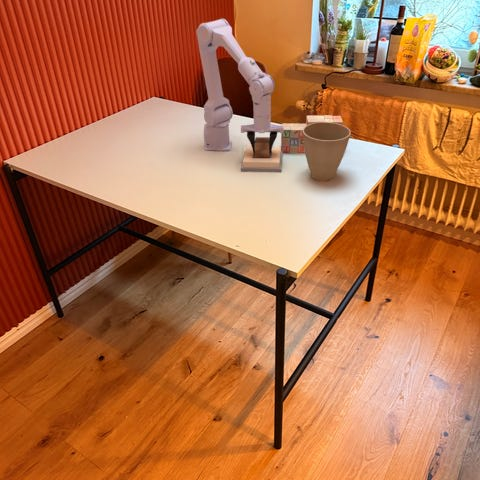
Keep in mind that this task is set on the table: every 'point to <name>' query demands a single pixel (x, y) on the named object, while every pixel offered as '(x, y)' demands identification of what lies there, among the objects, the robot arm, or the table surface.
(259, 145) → the walnut block
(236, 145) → the table surface
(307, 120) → the stack of blocks
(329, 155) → the plant pot
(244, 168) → the puzzle board
